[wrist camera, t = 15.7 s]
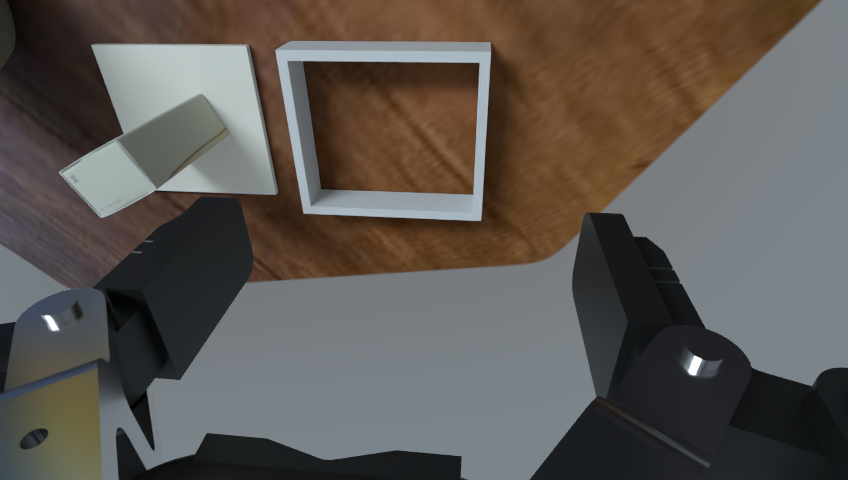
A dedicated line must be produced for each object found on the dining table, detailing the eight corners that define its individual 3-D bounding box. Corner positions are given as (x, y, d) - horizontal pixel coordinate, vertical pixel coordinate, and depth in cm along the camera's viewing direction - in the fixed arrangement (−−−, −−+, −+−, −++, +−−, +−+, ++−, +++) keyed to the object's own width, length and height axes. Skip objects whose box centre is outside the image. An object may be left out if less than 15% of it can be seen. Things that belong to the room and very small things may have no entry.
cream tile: (95, 43, 42) (90, 44, 42) (248, 44, 41) (246, 46, 40) (147, 187, 50) (144, 189, 49) (278, 192, 49) (276, 194, 48)
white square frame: (290, 41, 40) (275, 49, 38) (490, 42, 39) (491, 51, 36) (314, 196, 48) (303, 213, 45) (481, 202, 47) (481, 221, 44)
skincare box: (184, 158, 47) (100, 222, 37) (151, 117, 45) (54, 173, 35) (233, 132, 45) (159, 192, 35) (201, 88, 43) (113, 138, 33)
